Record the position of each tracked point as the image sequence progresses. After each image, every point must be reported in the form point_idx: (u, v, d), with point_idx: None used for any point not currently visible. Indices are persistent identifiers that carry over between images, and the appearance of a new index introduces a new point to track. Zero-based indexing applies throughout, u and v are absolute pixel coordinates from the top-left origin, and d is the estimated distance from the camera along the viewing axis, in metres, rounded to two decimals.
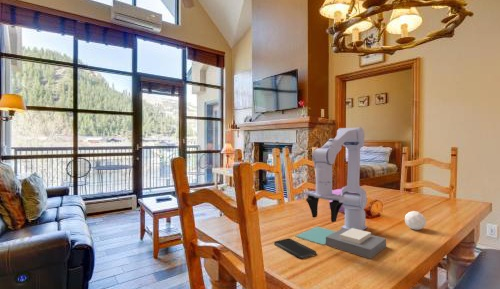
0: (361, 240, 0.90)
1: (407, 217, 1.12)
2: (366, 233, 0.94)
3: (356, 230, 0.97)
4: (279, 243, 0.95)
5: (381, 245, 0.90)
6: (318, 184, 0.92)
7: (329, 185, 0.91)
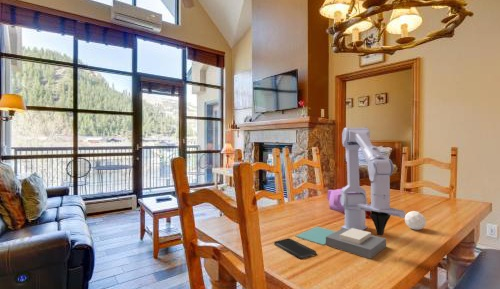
0: (361, 240, 0.90)
1: (407, 217, 1.12)
2: (366, 233, 0.94)
3: (356, 230, 0.97)
4: (279, 243, 0.95)
5: (381, 245, 0.90)
6: (375, 197, 0.86)
7: (387, 199, 0.85)
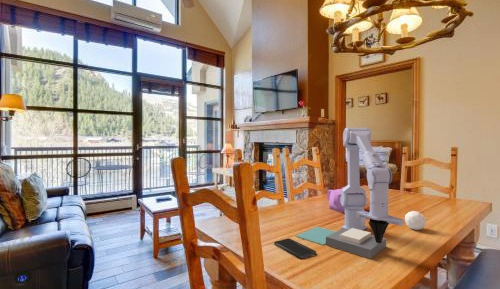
0: (361, 240, 0.90)
1: (407, 217, 1.12)
2: (366, 233, 0.94)
3: (356, 230, 0.97)
4: (279, 243, 0.95)
5: (381, 245, 0.90)
6: (374, 205, 0.87)
7: (386, 207, 0.86)
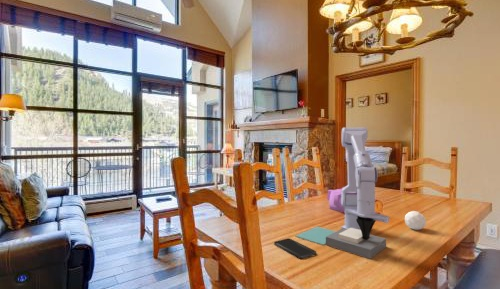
0: (359, 240, 0.90)
1: (407, 217, 1.12)
2: None
3: (354, 230, 0.98)
4: (279, 243, 0.95)
5: (381, 245, 0.90)
6: (361, 203, 0.90)
7: (372, 205, 0.89)
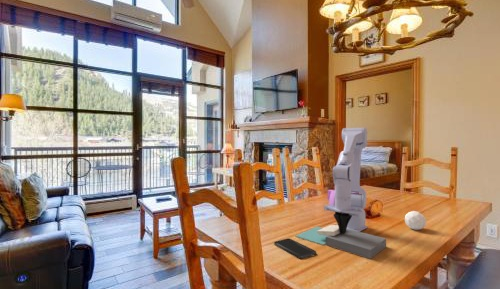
0: (336, 232, 0.96)
1: (407, 217, 1.12)
2: None
3: (333, 226, 1.04)
4: (279, 243, 0.95)
5: (381, 245, 0.90)
6: (338, 199, 0.96)
7: (348, 200, 0.95)
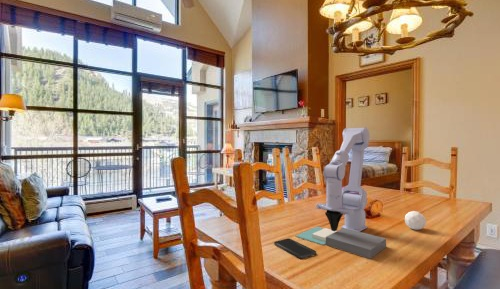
0: None
1: (407, 217, 1.12)
2: None
3: (328, 230, 1.06)
4: (279, 243, 0.95)
5: (381, 245, 0.90)
6: (329, 198, 0.99)
7: (339, 199, 0.98)
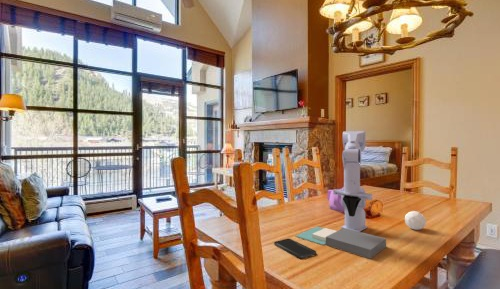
0: None
1: (407, 217, 1.12)
2: None
3: (328, 230, 1.06)
4: (279, 243, 0.95)
5: (381, 245, 0.90)
6: (347, 183, 0.97)
7: (357, 184, 0.96)
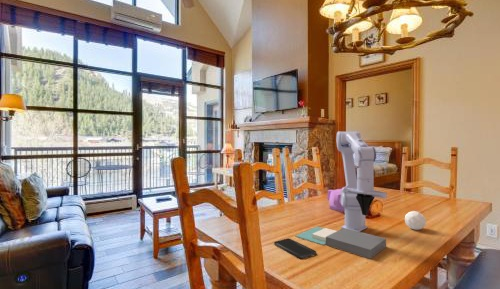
0: None
1: (407, 217, 1.12)
2: None
3: (328, 230, 1.06)
4: (279, 243, 0.95)
5: (381, 245, 0.90)
6: (360, 181, 0.96)
7: (371, 182, 0.95)
